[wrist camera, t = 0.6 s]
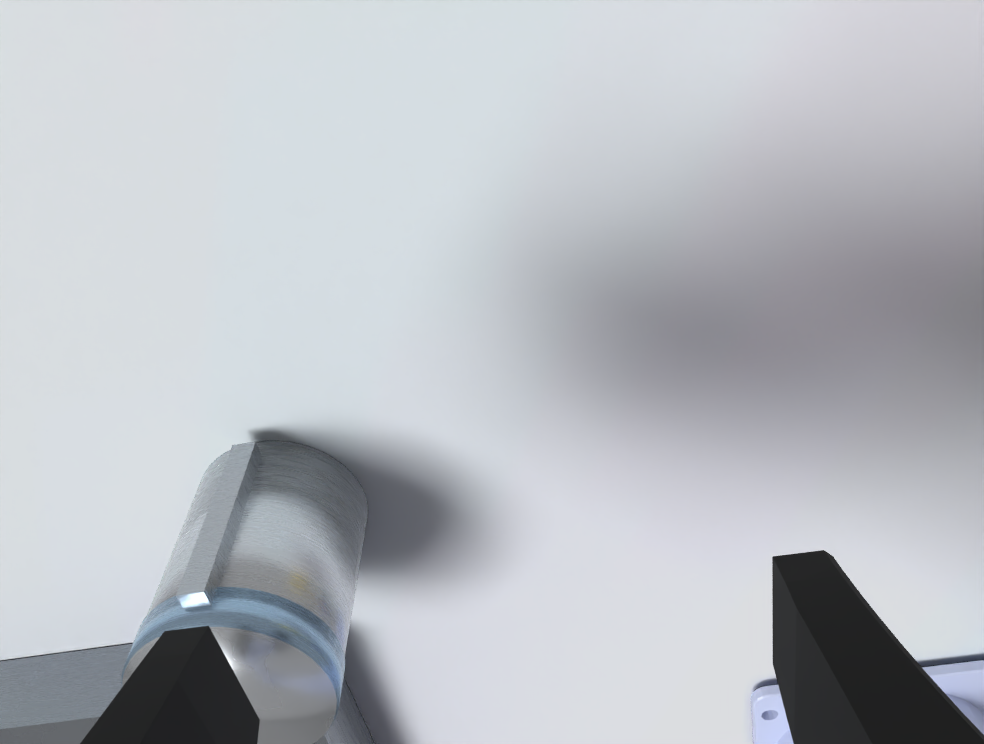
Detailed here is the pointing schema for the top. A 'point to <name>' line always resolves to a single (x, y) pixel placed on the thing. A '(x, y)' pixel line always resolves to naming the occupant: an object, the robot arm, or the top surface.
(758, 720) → the robot arm
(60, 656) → the grey square frame
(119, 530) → the top surface
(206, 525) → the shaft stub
